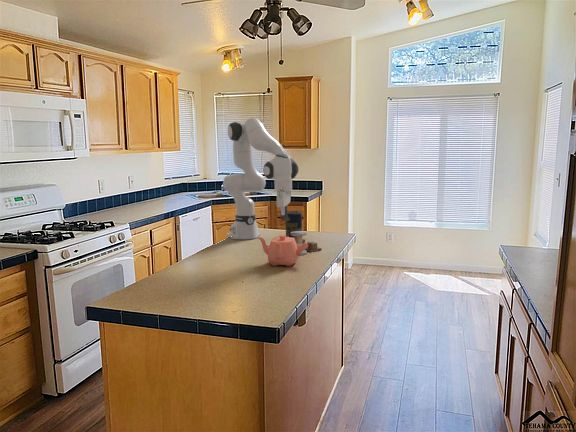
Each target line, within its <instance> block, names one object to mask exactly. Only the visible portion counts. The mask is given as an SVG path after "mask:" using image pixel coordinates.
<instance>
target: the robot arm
mask: <svg viewBox="0 0 576 432" xmlns="http://www.w3.org/2000/svg"><path fill="white" fill-rule="evenodd" d="M227 135H228V138H229V139H230V140H231V141H233V142H232V143H233V144H232V151H233V152H232V153H233V164H234V165H235V167H236V168H238V169H241V170H242V171H243V173H233V174H227V175H226V176H224V178H223V181H222V186H223V188H224V190H225V191H226V192H228V193H229V194H230V195H231V197H232V198H233V200H234V203H235V209H236V212H235V213H236V214H235V215H234V217H235V219H234V220H235V221H234V222H233V223H232V224H231V225H230V227H229V231H230V232H228V233H226V236H227V237H229V238H230V239H232V240H251V239H258V238H257V237H260V236H261V234H260V233H259V227H258V222H256V220H257V217H256V214H255V202H254V200H253V199H252V198H250V197H248V196H246V195H245V193H256V192H262V191H263V190H264V189H265V188H266V184H267V182H266V179H268V180H272V181H273V182H274V184H273V185H274V191H275V192H276V207H277V208H278V209H280V210H281V214H280V216H281V215H285V206H286V205H287V206H288V205H289V204H290V203H291V200H292V199H291V197H292V191H293V180H294V178H296V177H297V175H298V173H299V166H298V163H297V162H296V161H295V160H294V159H293V158H292V157H291V156H290V155H289V154H288V152H287V151H286V149H284V147H283V146H282V144H281V142H279V141H278V140H277V139H276V138H274V137H272V136H271V135H270V133H268V131H267V130H266V125H265V123H264V121H262V120H260V119H258V118H257V117H250V118H248V119H246V120H241V121H233V122H231V123H229V124H228V126H227ZM253 149H255V150H257V151H259V152H260V151H262V152H267V153H270V154H272V155H274V158H273V159H271V160H269V161H266V162H265V164H264V166H263V170H262V171H263V174H261V173H260V172H259V171H258V170H257V169H256V167H255V165H254V162H253V161H254V159H253ZM263 175H264V176H265V177H264V176H263ZM231 236H232V237H231Z"/></svg>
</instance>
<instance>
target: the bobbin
mask: <svg viewBox="0 0 576 432" xmlns="http://www.w3.org/2000/svg"><path fill="white" fill-rule="evenodd" d="M307 234H308V233H307V231H303V230H302V231H294V232H291V233H290V235H291V236H295V242H296V245H297V249H298V248H299V247H300V246H301V245H302V239H303V237H305V236H307ZM307 254H308V251H306V250H304V251H302V252H301V253H300V254H299V255H298V256H305V255H307Z"/></svg>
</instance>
